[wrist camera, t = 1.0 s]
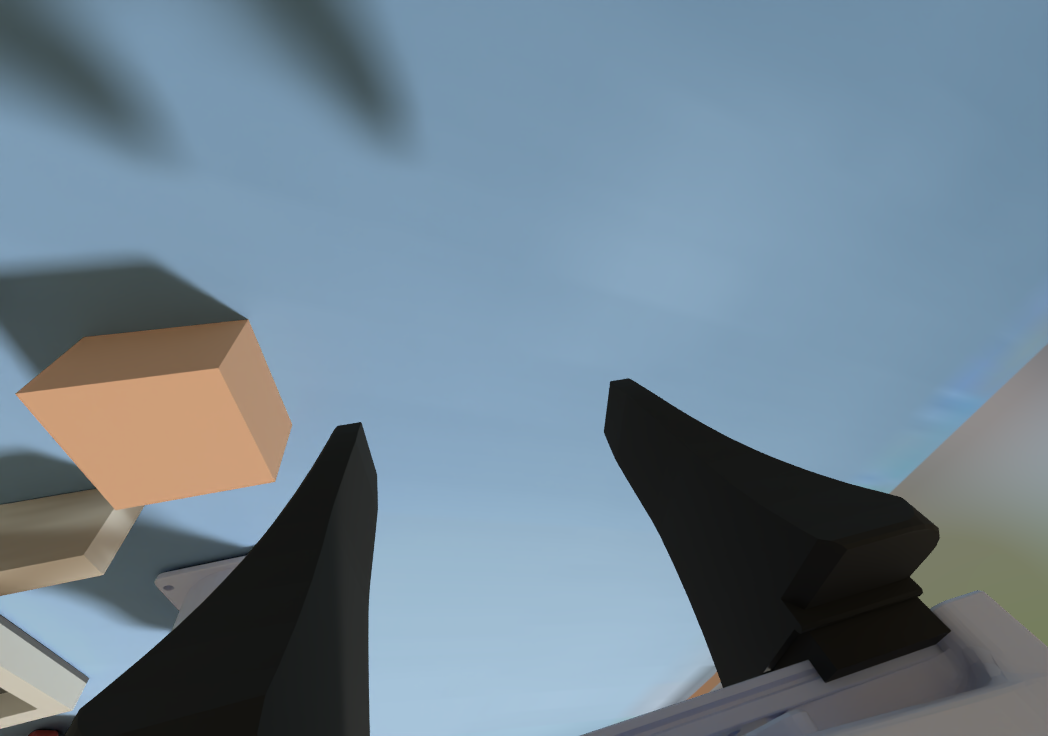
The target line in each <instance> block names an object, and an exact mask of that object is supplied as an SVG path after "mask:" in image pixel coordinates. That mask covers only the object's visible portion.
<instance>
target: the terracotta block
mask: <svg viewBox="0 0 1048 736" xmlns="http://www.w3.org/2000/svg"><path fill="white" fill-rule="evenodd" d="M16 395H17V397H18V398H19V399H20V400H21V401H22V402H23V403H24V405H25V406H26V407H27V408H28V409H29V410H30V412H31V413H32V414H33V415H34V416H35V417H36V419H37V420H38V421H39V422H40V423H41V424H42V426H43V427H44V428H45V429H46V430H47V431H48V433H49V434H50V435H51V436H52V437H53V438H54V439H55V441H56V442H57V443H58V444H59V445H60V446H61V448H62V449H63V450H64V451H65V452H66V453H67V455H68V456H69V457H70V458H71V459H72V460H73V462H74V463H75V464H76V465H77V466H78V467H79V469H80V470H81V471H82V472H83V473H84V474H85V475H86V477H87V478H88V479H89V480H90V481H91V482H92V484H93V485H94V486H95V487H96V488H97V489H98V491H99V492H100V493H101V494H102V495H103V496H104V498H105V499H106V500H107V501H108V502H109V503H110V505H111V506H112V507H113V508H114V509H115V510H120V509H125V508H131V507H137V506H142V505H148V504H153V503H159V502H165V501H170V500H176V499H181V498H187V497H193V496H198V495H204V494H209V493H215V492H221V491H226V490H232V489H237V488H243V487H249V486H254V485H260V484H265V483H271V482H275V480H276V477H277V474H278V470H279V467H280V464H281V460H282V457H283V454H284V450H285V447H286V444H287V440H288V437H289V434H290V430H291V427H292V423H291V421H290V418H289V416H288V414H287V411H286V409H285V406H284V404H283V402H282V399H281V397H280V394H279V392H278V390H277V387H276V385H275V382H274V380H273V378H272V375H271V373H270V370H269V368H268V366H267V363H266V361H265V358H264V356H263V354H262V351H261V349H260V346H259V344H258V342H257V339H256V337H255V334H254V332H253V330H252V327H251V325H250V322H249V320H248V319H247V320H238V321H229V322H220V323H210V324H201V325H192V326H183V327H173V328H164V329H155V330H145V331H136V332H127V333H118V334H108V335H99V336H90V337H83V338H82V339H81V340H80V341H78V342H77V343H76V344H75V345H74V346H72V347H71V348H70V349H69V350H68V351H66V352H65V353H64V354H63V355H62V356H60V357H59V358H58V359H57V360H56V361H54V362H53V363H52V364H51V365H50V366H48V367H47V368H46V369H45V370H43V371H42V372H41V373H40V374H39V375H37V376H36V377H35V378H34V379H33V380H31V381H30V382H29V383H28V384H27V385H25V386H24V387H23V388H22V389H21V390H19V391H18V392H17V393H16Z"/></svg>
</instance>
